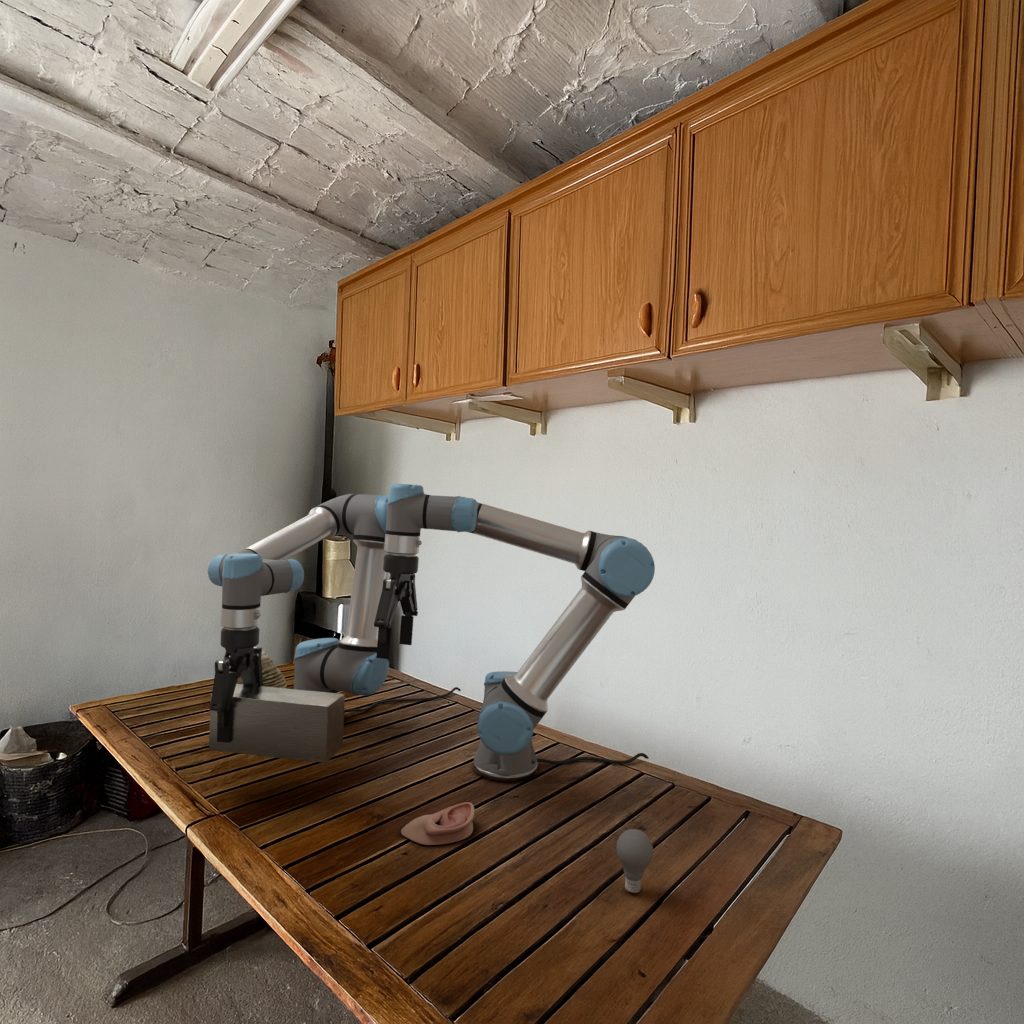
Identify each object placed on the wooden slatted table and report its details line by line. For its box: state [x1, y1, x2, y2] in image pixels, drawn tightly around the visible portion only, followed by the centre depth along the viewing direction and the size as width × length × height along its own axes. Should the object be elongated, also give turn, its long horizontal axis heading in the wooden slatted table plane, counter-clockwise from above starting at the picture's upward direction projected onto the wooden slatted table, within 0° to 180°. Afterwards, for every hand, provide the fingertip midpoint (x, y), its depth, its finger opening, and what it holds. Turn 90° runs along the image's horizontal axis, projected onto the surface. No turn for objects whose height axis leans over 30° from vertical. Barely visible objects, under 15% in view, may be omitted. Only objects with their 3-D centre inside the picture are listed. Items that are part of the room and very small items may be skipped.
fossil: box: [229, 648, 288, 689], centre depth 198 cm, size 9×18×15 cm, turn 132°
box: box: [208, 684, 346, 764], centre depth 133 cm, size 26×8×12 cm, turn 81°
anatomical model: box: [400, 801, 476, 846], centre depth 122 cm, size 13×4×12 cm
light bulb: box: [615, 828, 654, 894], centre depth 106 cm, size 6×6×10 cm
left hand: (236, 733), depth 134 cm, fingers closed on box, 8 cm apart
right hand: (394, 651), depth 139 cm, fingers open, 13 cm apart
